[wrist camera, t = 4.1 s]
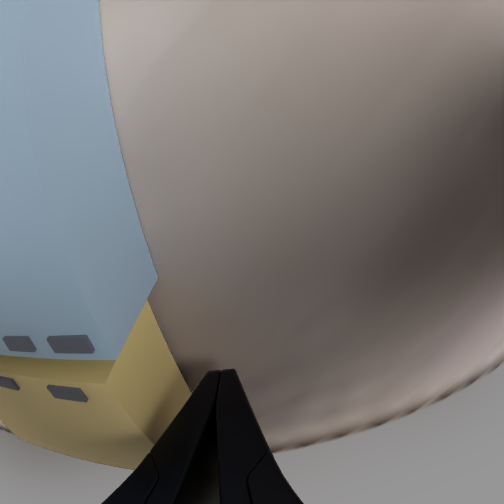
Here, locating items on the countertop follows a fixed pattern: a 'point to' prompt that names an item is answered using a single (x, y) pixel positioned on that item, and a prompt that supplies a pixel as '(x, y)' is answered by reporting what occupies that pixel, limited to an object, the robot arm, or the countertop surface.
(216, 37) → the countertop surface
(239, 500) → the robot arm
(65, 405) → the stub
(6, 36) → the ticket
